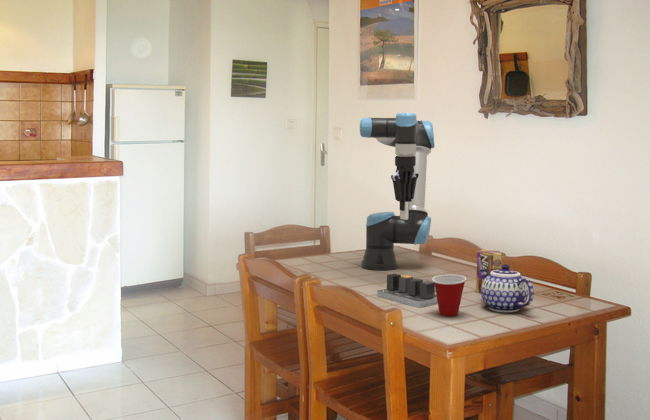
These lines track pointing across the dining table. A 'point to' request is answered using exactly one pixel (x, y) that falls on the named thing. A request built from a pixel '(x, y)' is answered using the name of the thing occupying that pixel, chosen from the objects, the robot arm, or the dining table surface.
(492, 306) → the teapot
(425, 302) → the breaker panel
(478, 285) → the candy box
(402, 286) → the breaker
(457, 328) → the dining table surface
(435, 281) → the plastic cup
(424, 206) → the robot arm
